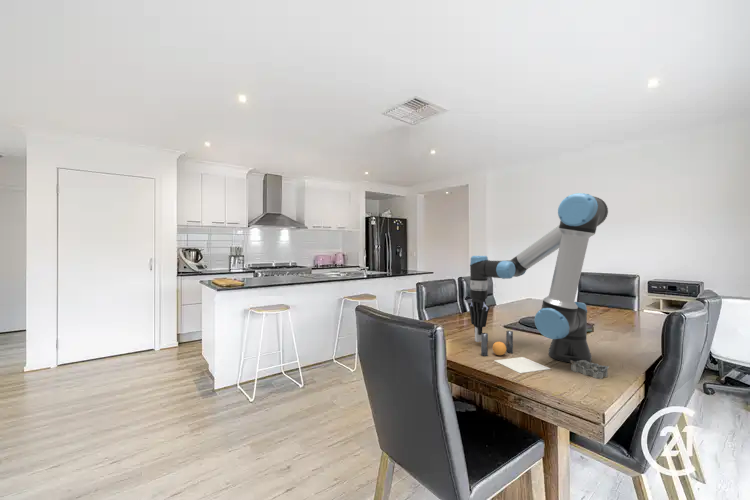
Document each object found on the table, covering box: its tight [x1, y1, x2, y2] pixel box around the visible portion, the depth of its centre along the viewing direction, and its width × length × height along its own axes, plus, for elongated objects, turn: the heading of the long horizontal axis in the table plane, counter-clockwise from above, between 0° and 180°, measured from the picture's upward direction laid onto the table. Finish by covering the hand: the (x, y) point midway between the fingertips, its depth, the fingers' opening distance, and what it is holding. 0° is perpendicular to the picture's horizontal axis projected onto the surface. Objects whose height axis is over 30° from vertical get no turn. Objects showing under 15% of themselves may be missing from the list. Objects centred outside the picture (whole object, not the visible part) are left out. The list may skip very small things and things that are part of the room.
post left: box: [480, 332, 489, 357], centre depth 140 cm, size 3×3×9 cm
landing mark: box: [493, 356, 552, 374], centre depth 129 cm, size 14×14×1 cm
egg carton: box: [570, 360, 610, 380], centre depth 121 cm, size 11×8×4 cm
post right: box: [505, 330, 514, 354], centre depth 144 cm, size 3×3×9 cm
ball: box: [492, 341, 507, 356], centre depth 140 cm, size 6×6×6 cm
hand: (478, 341), depth 154 cm, fingers closed
